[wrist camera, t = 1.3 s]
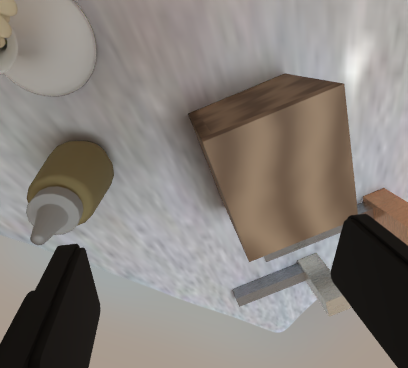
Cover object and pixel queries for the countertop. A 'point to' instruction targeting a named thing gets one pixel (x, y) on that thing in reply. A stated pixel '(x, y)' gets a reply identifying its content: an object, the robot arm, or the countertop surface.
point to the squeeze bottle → (67, 189)
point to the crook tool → (373, 206)
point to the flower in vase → (46, 45)
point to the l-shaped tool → (303, 271)
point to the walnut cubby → (280, 160)
